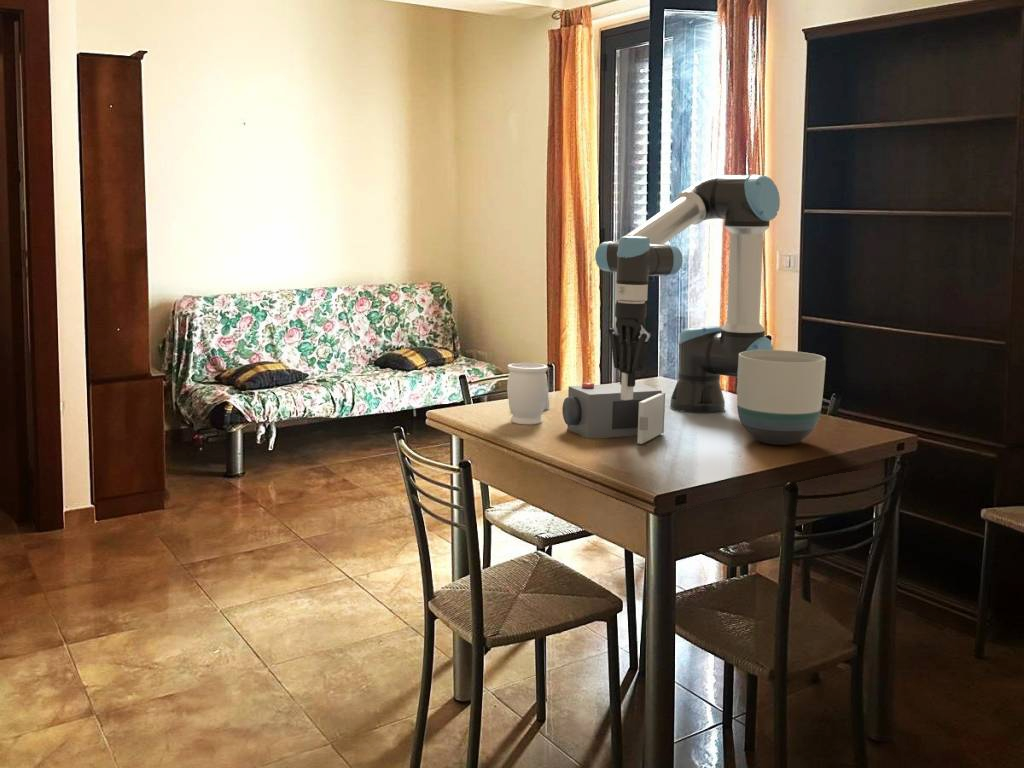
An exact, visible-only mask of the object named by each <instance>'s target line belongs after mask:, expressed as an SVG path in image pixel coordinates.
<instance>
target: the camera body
mask: <svg viewBox="0 0 1024 768" xmlns="http://www.w3.org/2000/svg"><path fill="white" fill-rule="evenodd" d="M659 393H663V392H662V390H661V389H658V388H655V387H653V386H649V385H647V384H643V383H641V382H635V386H634V388H633V399H631V400H621V385H620V383H609V384H608V383H605V384H603V383H602V384H595V383H594V382H582V383H581V385H569V386H568V395H567V396H568V397H565V398H564V400H563V402H562V407H561V408H562V417H563V421H564V423H565V424H566V425H567V430H569V431H571V432H573V433H575V434H577V435H579V436H581V437H583V438H585V439H590V440H591V439H602V438H604V439H605V438H606V439H607V438H619V437H632V436H633V437H634V436H638V414H639V402H640V401H643V400H645V399H647V398H650V397H652V396H654V395H657V394H659Z"/></svg>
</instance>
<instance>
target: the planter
mask: <svg viewBox="0 0 1024 768" xmlns="http://www.w3.org/2000/svg"><path fill="white" fill-rule="evenodd" d="M826 361H827V358H826V357H825V356H823V355H820V354H816V353H812V352H811V353H809V352H803V351H797V350H796V351H795V350H783V349H782V350H781V349H779V350H778V349H773V350H753V351H744V352H741V353H739V359H738V378H737V386H736V387H737V388H736V391H737V392H736V393H737V394H736V397H737V398H736V406H737V415H738V418H739V421H740V424H741V426H742V427H743V428H744V430H745V431H746V433H747V434H748V435H750V436H751V437H752V438H753V439H755V440H757V441H758V442H761V443H764V444H767V445H772V444H773V445H774V446H788V445H793V444H797V443H799V442H801V441H802V440H805V438H808V436H809V435H811V433H813V431H815V429H816V427H817V424H818V423H819V420H820V416H821V412H822V404H823V397H824V396H823V395H824V388H825V387H824V385H825V377H826V376H825V374H826ZM773 445H772V446H773Z"/></svg>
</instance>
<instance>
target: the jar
mask: <svg viewBox="0 0 1024 768" xmlns="http://www.w3.org/2000/svg"><path fill="white" fill-rule="evenodd" d="M507 369H508V371H509V372H508V373H509V374H508V377H507V382H506V383H507V384H506V385H507V387H506V388H507V390H506V391H507V392H506V393H507V399H508V406H509V411H510V413H511V414H512V415H511V418H510V422H511V423H513V424H516V425H517V424H518V425H524V426H525V425H526V426H530V425H531V426H532V425H538V424H539V425H540V424H542V423H543V421H544V420H543V418H542V415H543V413H544V411H545V410H544V408H545V402H546V397H547V390H548V391H549V388H548V385H549V384H548V377H547V374H546V373H547V371H548V370H549V368H548V365H546V364H541V363H537V362H514V363H509V364H507Z"/></svg>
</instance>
